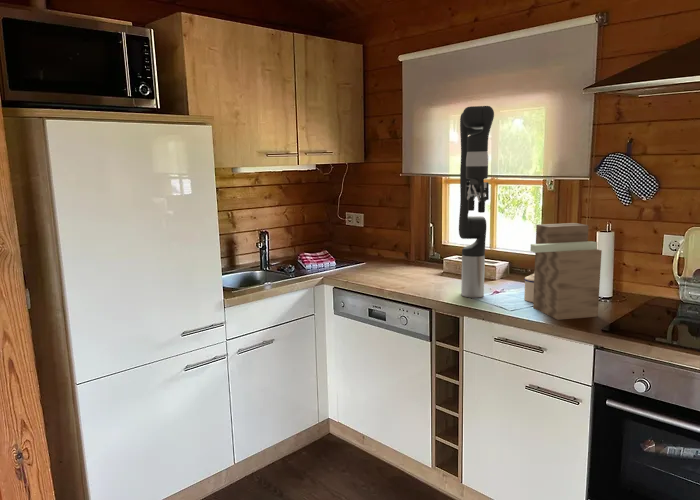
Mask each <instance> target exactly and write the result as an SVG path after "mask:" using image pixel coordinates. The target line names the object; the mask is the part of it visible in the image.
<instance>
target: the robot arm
mask: <svg viewBox="0 0 700 500" xmlns="http://www.w3.org/2000/svg"><path fill="white" fill-rule="evenodd" d="M494 119H495V112H494V109H493V107H491V106H490V105H478V106H467V107H465V108H464V110H463V111H462V112H461V114H460V119H459V130H460V131H459V133H460V167H459V168H460V173H459V175H460V176H459V177H460V178H459V184H460V185H459V187H460V191H459V192H460V201H459V203H460V204H459V216H458V217H459V218H458V235H459V237H460V238H461V239H462V240H469V239H470V240H474V239H475V241H474V242H473V243H471V244H469V245H466V246H464V247H462V249H461V293H460V295H461V296H462V297H464V298H473V299H475V298H477V299H478V298H482V297H484V295H485V263H486V262H485V261H486V260H485V258H486V256H485V255H486V240H487V239H486V238H487V237H486V236H487V220H486V218H485V217H484V216H476V215H475V216H469V211H470V212H472V211H475V203H476V202H475V199H476V198H477V201H478V202H477V212H478V213H480V214H481V213H484V214H485V211H486V202H487V201H489V198H490V197H489V192H490V191H489V187H490V185H489V182H485V180H486V179H488V178H489V151H488V150H489V135H490V131H491V128H492V126H493V125H492V124H493V121H494Z"/></svg>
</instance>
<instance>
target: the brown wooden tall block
mask: <svg viewBox="0 0 700 500" xmlns="http://www.w3.org/2000/svg"><path fill="white" fill-rule="evenodd" d="M535 228H536V229H535V231H536V232H535V244H546V243H567V242H587V241H588V240H589V224H582V223H577V222H567V223H566V222H565V223H545V224H544V223H543V224H539V223H538V224H536V227H535ZM534 253H535V252H534ZM602 254H603V253H602V249H598V248H597V249H595V250H576V251H556V252H537V253H535V254H534V272H535V275H534V300H533V302H532V304H533V305H532V307H533V309H534V310H537V311H539V312H541V313H543V314H545V315H547V316H549V317H551V318H553V319H555V320H569V319H571V320H573V319H584V318H597V317H599V302H600V287H601V285H600V284H601V268H602Z"/></svg>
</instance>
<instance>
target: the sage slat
mask: <svg viewBox="0 0 700 500" xmlns="http://www.w3.org/2000/svg"><path fill="white" fill-rule="evenodd" d="M595 249H598V242H597V241H592V240H591V241H587V242H567V243H546V244H536V243H531V244H530V251H529V252H532V253H537V252H556V251H576V250H595Z"/></svg>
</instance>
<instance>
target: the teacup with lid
mask: <svg viewBox="0 0 700 500" xmlns="http://www.w3.org/2000/svg"><path fill="white" fill-rule="evenodd" d="M534 275H535V271H533V273H531V274H530V275H528V276H525V277H524V298H523V299H524V300H525V301H526V302H529V303H533V300H534Z"/></svg>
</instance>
